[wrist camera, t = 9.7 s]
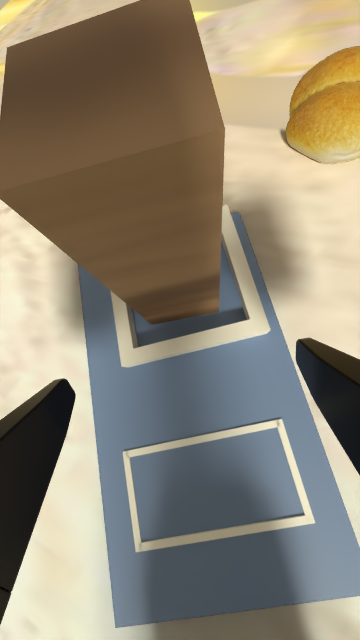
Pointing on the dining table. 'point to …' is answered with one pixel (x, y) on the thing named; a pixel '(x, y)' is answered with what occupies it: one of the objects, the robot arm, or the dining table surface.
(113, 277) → the walnut column
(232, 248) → the blueprint board
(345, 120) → the bread roll
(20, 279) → the dining table surface
